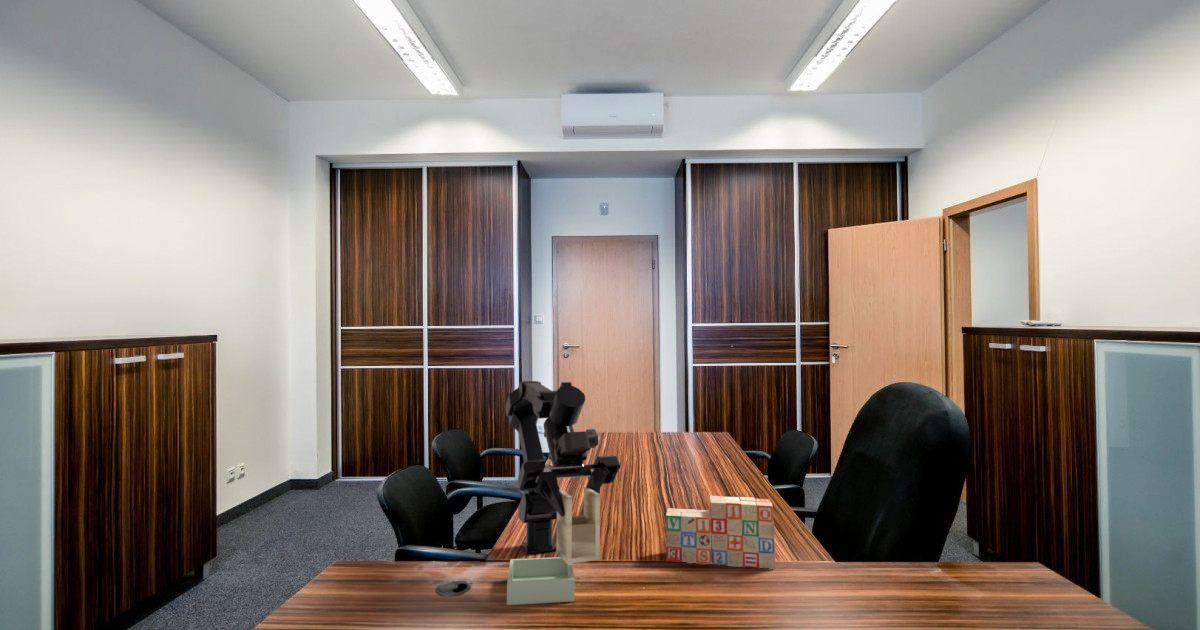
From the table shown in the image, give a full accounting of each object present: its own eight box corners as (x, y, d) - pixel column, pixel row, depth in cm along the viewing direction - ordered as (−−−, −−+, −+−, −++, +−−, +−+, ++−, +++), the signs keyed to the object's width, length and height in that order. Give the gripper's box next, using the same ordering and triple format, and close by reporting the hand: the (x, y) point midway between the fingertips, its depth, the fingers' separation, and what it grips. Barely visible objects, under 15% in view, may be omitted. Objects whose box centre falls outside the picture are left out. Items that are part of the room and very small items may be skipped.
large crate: (510, 579, 96) (510, 559, 97) (570, 576, 98) (570, 556, 98) (506, 605, 85) (507, 582, 86) (574, 601, 87) (574, 579, 87)
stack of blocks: (665, 562, 105) (664, 499, 107) (668, 552, 111) (667, 493, 113) (776, 570, 101) (773, 504, 102) (772, 559, 107) (769, 497, 108)
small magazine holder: (556, 552, 93) (557, 489, 94) (587, 548, 95) (587, 487, 97) (566, 564, 88) (567, 497, 89) (599, 559, 90) (600, 494, 91)
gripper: (523, 416, 94) (538, 491, 83) (616, 413, 101) (642, 482, 90) (512, 453, 101) (525, 528, 89) (601, 448, 108) (623, 517, 96)
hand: (580, 513), depth 91 cm, fingers closed on small magazine holder, 6 cm apart
